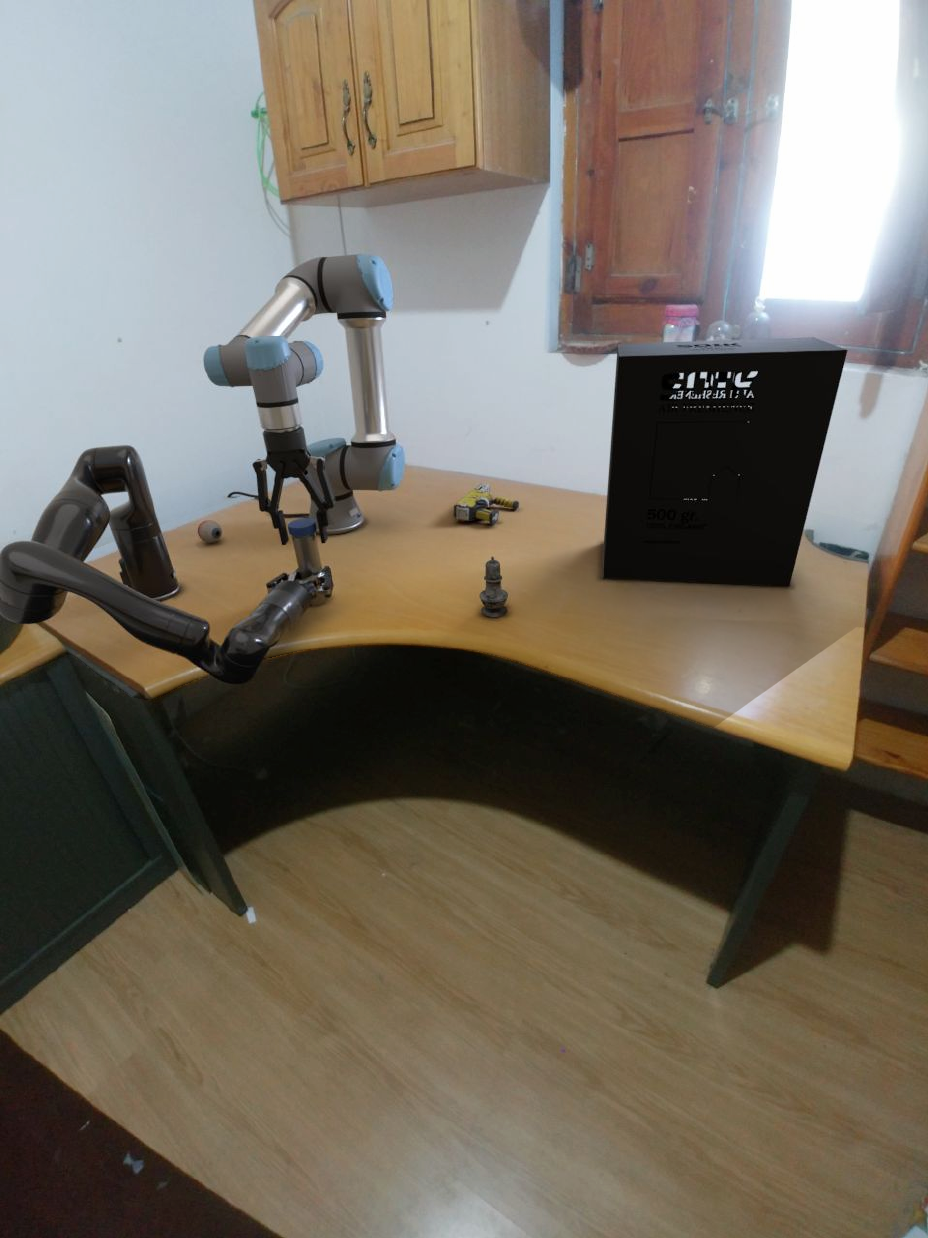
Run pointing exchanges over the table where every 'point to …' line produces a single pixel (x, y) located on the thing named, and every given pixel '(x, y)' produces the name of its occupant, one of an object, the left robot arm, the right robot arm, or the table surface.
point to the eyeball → (209, 531)
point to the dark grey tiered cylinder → (493, 591)
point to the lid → (302, 527)
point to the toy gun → (480, 505)
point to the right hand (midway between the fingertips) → (305, 541)
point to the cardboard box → (716, 458)
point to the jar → (308, 561)
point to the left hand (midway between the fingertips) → (316, 569)
